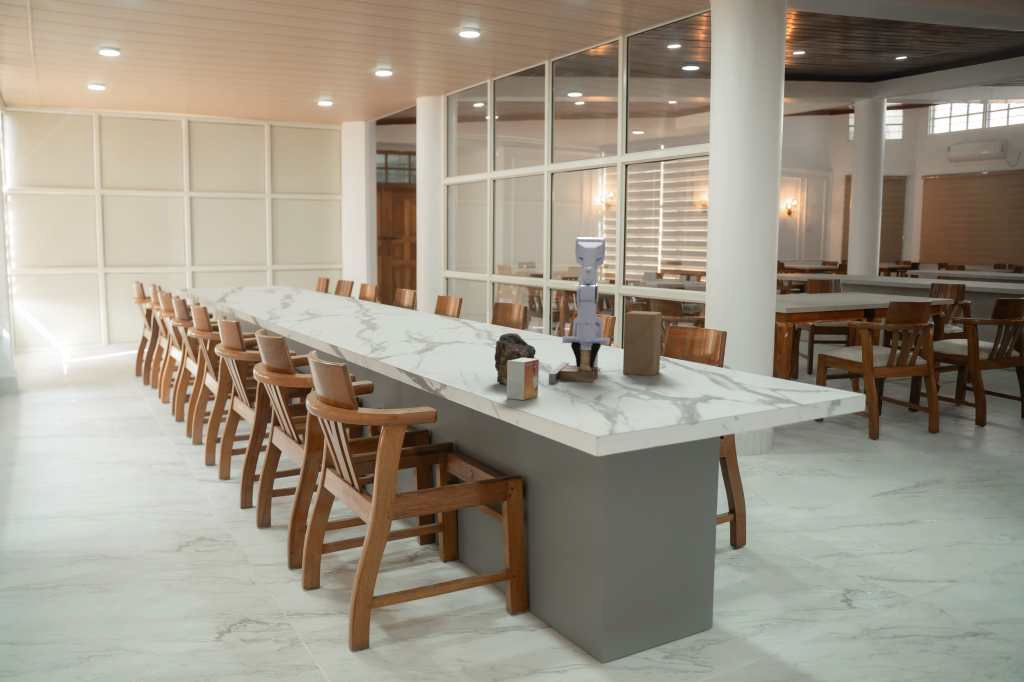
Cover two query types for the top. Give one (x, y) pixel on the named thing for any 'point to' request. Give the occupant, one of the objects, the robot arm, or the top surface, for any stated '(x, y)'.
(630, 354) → the wooden block
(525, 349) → the rock
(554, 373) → the rail
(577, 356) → the robot arm
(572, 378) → the block
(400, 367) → the top surface
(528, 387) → the small box
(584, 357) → the dowel
